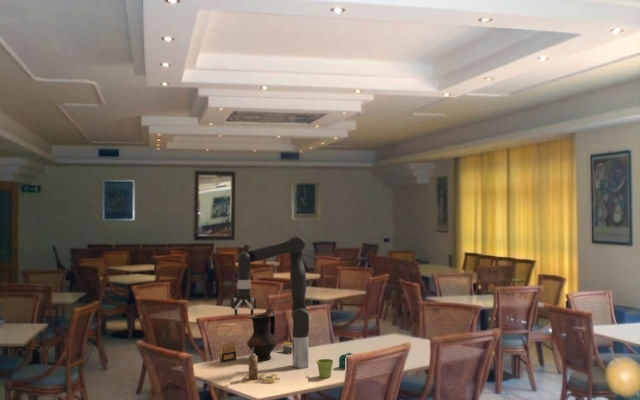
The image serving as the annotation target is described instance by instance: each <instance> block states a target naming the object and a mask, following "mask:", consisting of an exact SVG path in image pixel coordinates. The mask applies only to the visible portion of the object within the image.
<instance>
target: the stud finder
mask: <svg viewBox="0 0 640 400" xmlns="http://www.w3.org/2000/svg"><path fill="white" fill-rule="evenodd" d="M274 381H275V376H265V378H264V383H263V384H275V383H274Z"/></svg>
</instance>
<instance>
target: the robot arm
mask: <svg viewBox="0 0 640 400" xmlns="http://www.w3.org/2000/svg"><path fill="white" fill-rule="evenodd" d="M305 246H306V241H305V240H304V239H303V237H300V236H297V235H294V236H292V237H290V238H289V239H288V240H287V241H284V242H281V243H277V244H272V245H266V246H263V247H262V246H261V247H259V248H256V249H253V250H248V251H243V252H241V253H239V254H238V256H237V261H238V263H237V264H238V272H237V285H236V286H237V288H236V289H237V296H236V297H233V296H232V298H231V305H230V306H231V309H234V315H235V317H238V308H239V307H240V306H241V307H242V306H244V307H245V306H248V307H249V308H250V315H251V316H252V315H253V314H254V310H255V309H257V307H258V306H257V297H252V296H251V294H252V293H251V292H252V291H251V289H252V288H251V287H252V285H251V284H252V281H251V263H254V262H260V261H264V260H267V259H271V258H274V257H277V256H281V255H286V254H289V261H290V262H289V265H290V266H289V279H290V280H289V281H290V282H289V283H290V292H291V297H292V299H291V300H292V309H291V312H292V313H291V318H292V345H293V347H292V362H291V363H292V367H293V368H297V369H299V368H300V369H301V368H309V361H310V360H309V331H310V316H309V312H308V311H307V306H306V292H307V277H306V276H307V274H306V269H305V264H304V260H303V255H304V254H303V251H304V249H305ZM236 301H237V304H236V306H235V302H236ZM251 301H252V302H253V304H252V303H251Z"/></svg>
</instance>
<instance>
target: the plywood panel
mask: <svg viewBox="0 0 640 400" xmlns="http://www.w3.org/2000/svg"><path fill="white" fill-rule="evenodd" d="M265 376H275V381H274V383H273V384H279V383H280V380H281V376H282V373H278V374H277V373H276V374H275V373H268V374H266V373H261V374H260V373H259V374H258V373H257V380H249V373H248V374H247V373H244V374H243V376H242V379H241V380H240V382H239V384H265V383H264V378H265Z"/></svg>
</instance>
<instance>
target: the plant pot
mask: <svg viewBox="0 0 640 400" xmlns="http://www.w3.org/2000/svg"><path fill="white" fill-rule="evenodd" d="M334 361H335V360H333V359H330V358H320V359H316V364H317V368H318V375H319V377H320V378H323V379H328V378H331V377H332V370H333V364H334Z"/></svg>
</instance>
